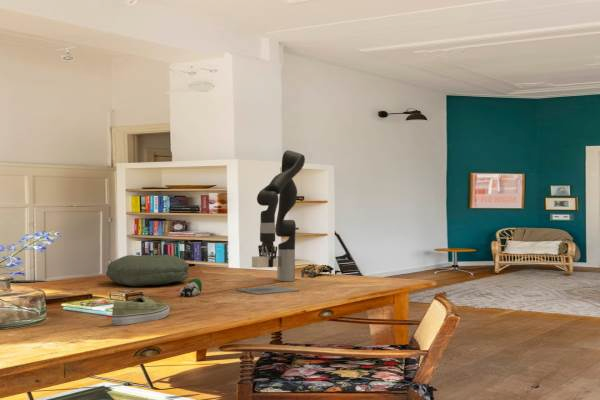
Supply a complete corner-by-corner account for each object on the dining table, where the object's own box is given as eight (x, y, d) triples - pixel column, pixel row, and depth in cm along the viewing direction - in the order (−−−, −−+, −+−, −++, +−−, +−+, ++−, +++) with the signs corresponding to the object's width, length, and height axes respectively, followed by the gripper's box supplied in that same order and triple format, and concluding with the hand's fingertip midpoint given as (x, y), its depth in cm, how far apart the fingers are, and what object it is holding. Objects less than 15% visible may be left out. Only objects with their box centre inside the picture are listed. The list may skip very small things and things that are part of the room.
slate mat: (235, 290, 361) (235, 289, 361) (276, 286, 375) (276, 285, 375) (257, 294, 345) (257, 293, 345) (299, 291, 359) (299, 290, 359)
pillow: (94, 283, 390) (131, 291, 359) (94, 255, 389) (132, 261, 359) (165, 277, 418) (205, 284, 387) (165, 251, 418) (205, 256, 387)
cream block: (257, 267, 353) (281, 266, 361) (257, 257, 353) (281, 256, 361) (251, 267, 357) (275, 265, 365) (251, 256, 357) (275, 255, 365)
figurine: (322, 280, 413) (340, 272, 440) (322, 270, 412) (340, 262, 440) (292, 279, 420) (311, 271, 448) (291, 268, 420) (310, 261, 447)
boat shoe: (177, 315, 285) (177, 293, 285) (128, 327, 259) (128, 302, 259) (155, 314, 290) (155, 291, 290) (105, 325, 264) (105, 300, 264)
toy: (195, 303, 336) (207, 291, 350) (193, 288, 334) (206, 277, 348) (177, 302, 338) (191, 290, 352) (176, 288, 337) (189, 276, 350)
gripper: (282, 232, 356) (282, 267, 356) (266, 231, 368) (266, 265, 368) (269, 232, 352) (269, 268, 352) (253, 231, 363) (253, 266, 363)
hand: (267, 266), depth 360 cm, fingers closed on cream block, 5 cm apart
